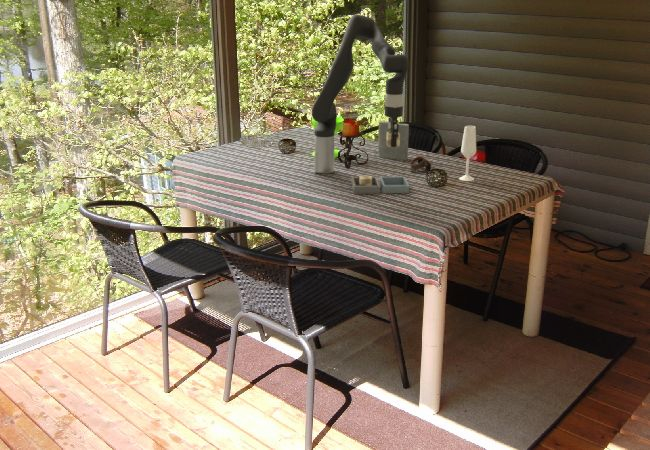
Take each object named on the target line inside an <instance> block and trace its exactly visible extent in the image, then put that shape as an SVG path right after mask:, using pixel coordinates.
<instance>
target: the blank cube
mask: <svg viewBox="0 0 650 450" xmlns="http://www.w3.org/2000/svg"><path fill="white" fill-rule="evenodd" d="M358 177H359V186H372V178H371V177H372V176H371V175H359V176H358Z"/></svg>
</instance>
